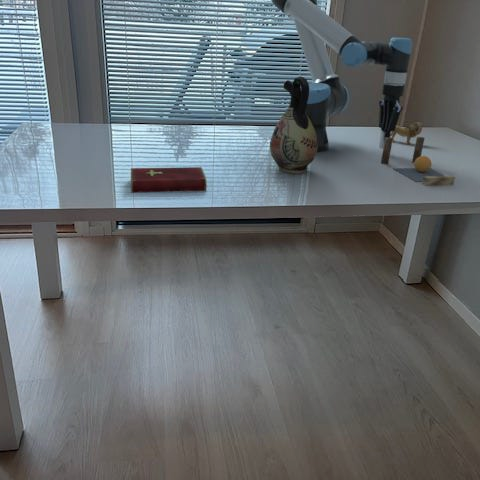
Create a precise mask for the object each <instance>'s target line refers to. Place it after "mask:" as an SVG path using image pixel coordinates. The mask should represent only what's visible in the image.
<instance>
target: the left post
mask: <svg viewBox="0 0 480 480" xmlns="http://www.w3.org/2000/svg"><path fill="white" fill-rule="evenodd" d="M392 141H393V138H391V137H386V138H385V142H384V148H383V149H382V154H381V159H380V160H381V161H380V164H382V165H389V163H390V155H391V151H392V145H393V142H392Z"/></svg>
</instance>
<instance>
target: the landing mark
mask: <svg viewBox="0 0 480 480" xmlns="http://www.w3.org/2000/svg"><path fill="white" fill-rule="evenodd" d="M392 169H393V171H395V172H398V173H399V174H401V175H403V176H404V177H406V178H408V179H410V180H412V181H414V182H415V183H419V182H420V183H422V182H423V177H424V176H445V174H442V173H440V172H439V171H437V170H435V169H433V168H432V167H430V169H429V170H428V171H426V172H419V171H417V170H416V169H415V167H402V168H398V167H397V168H396V167H395V168H392Z"/></svg>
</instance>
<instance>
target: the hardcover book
mask: <svg viewBox="0 0 480 480" xmlns="http://www.w3.org/2000/svg"><path fill="white" fill-rule="evenodd" d="M207 181H208V180H207V177H206V175H205V172H204V169H203V167H202V166H194V167H193V166H191V167H189V166H188V167H184V166H183V167H178V166H177V167H133V168H132V167H131V168H130V190H131V194H132V193H162V192H164V193H165V192H168V193H170V192H205V191H207V185H208V184H207Z"/></svg>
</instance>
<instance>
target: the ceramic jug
mask: <svg viewBox="0 0 480 480" xmlns="http://www.w3.org/2000/svg"><path fill="white" fill-rule="evenodd" d="M308 83H309V82H308V80H307V78H305V77H303V76H298V77H295V78H294V79H293V81H292V82H291V81H290V80H288V79H287V80H286V81H285V82H284V83H283V89H284V90H285V91H287V92H288V93H289V95H290V101H289V102H290V104H289V106H288V107H287V109H286V111H284V113H283V114H282V116H280V119H279V120H278V121H277V124H276V125H275V127H274V129H273V132H272V134H271V137H270V141H269V142H270V143H269V144H270V145H269V150H270V151H269V152H270V155H271V157H272V159H273V160H274V162H275V163H276V165H277V167H278V170H280V171H281V172H283V173H288V174H302V173H305V172H307V170H308V166H309V165H310V164H312V162H313V161H314V160H315V158H316V156H317V153H318V152H317V137H316V133H315V130H314V127H313V125H312V123H311V121H310V119H309V117H308V116H307V114H306V107H307V101H308V97H309V84H308Z"/></svg>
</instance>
